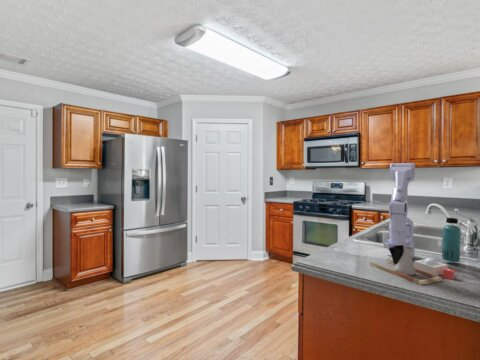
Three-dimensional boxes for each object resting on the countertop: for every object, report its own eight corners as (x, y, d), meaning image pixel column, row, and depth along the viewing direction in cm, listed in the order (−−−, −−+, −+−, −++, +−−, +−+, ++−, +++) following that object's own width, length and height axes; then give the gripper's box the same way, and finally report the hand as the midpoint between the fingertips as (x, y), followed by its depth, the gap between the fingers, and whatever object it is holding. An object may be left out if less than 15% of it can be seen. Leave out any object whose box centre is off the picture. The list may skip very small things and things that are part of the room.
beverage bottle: (457, 262, 127) (459, 217, 126) (462, 266, 121) (463, 219, 120) (440, 260, 130) (441, 216, 129) (443, 264, 124) (444, 218, 123)
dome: (428, 267, 118) (428, 255, 118) (441, 270, 113) (441, 259, 113) (420, 268, 116) (420, 256, 116) (432, 272, 111) (432, 260, 111)
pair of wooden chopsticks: (388, 262, 126) (388, 259, 126) (441, 280, 105) (441, 277, 105) (369, 264, 122) (369, 262, 122) (421, 284, 101) (421, 281, 101)
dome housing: (427, 267, 120) (427, 259, 120) (447, 273, 112) (447, 264, 112) (414, 269, 117) (414, 261, 117) (433, 276, 109) (433, 267, 109)
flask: (390, 268, 116) (393, 244, 115) (406, 268, 117) (409, 244, 116) (403, 276, 109) (406, 250, 108) (420, 275, 110) (423, 250, 109)
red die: (445, 275, 110) (445, 267, 110) (454, 277, 108) (454, 269, 108) (442, 277, 108) (443, 269, 108) (452, 279, 106) (452, 271, 106)
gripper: (399, 227, 123) (398, 258, 123) (377, 230, 116) (376, 263, 116) (416, 230, 116) (415, 263, 117) (393, 233, 110) (392, 268, 110)
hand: (396, 263), depth 116 cm, fingers closed, pressing on flask
